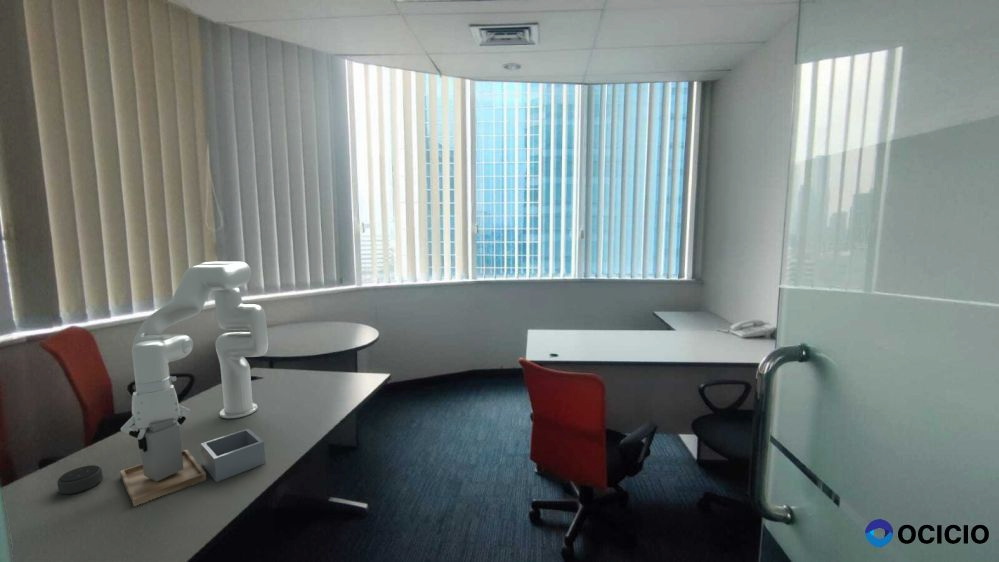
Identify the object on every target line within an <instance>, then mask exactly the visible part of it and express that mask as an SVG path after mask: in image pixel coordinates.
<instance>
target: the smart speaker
mask: <svg viewBox="0 0 999 562" xmlns="http://www.w3.org/2000/svg"><path fill="white" fill-rule="evenodd" d="M102 480H103V470H102V467H101V466H99V465H94V464H93V465H86V466H85V465H84V466H80V467H77V468H74V469H72V470H69V471H68V472H66V473H64V474H62V475H60V477H59V478H58V479H57V482H56V483H57V489H58V492H59V493H60V494H64V495H72V494H77V493H81V491H82V492H85V491H87V490H89V488H90V489H91V488H93V487H95V486H97V485H98V484H99V483H100V482H101V481H102ZM84 490H85V491H84Z"/></svg>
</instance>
